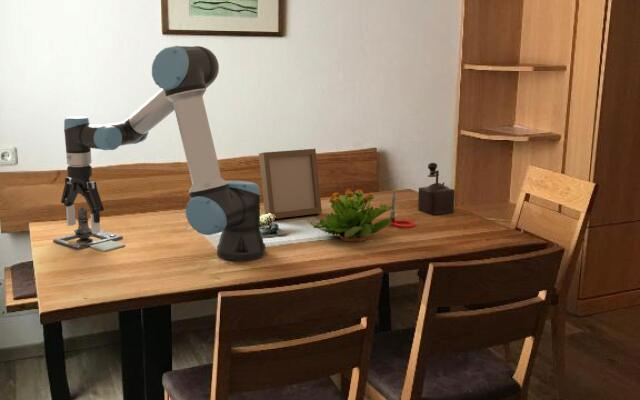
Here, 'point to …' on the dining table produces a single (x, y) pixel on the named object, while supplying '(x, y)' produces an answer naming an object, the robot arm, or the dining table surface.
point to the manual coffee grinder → (436, 196)
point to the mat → (107, 245)
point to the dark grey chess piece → (83, 227)
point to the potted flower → (353, 217)
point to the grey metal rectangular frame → (102, 234)
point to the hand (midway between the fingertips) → (83, 228)
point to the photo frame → (290, 183)
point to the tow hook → (394, 221)
